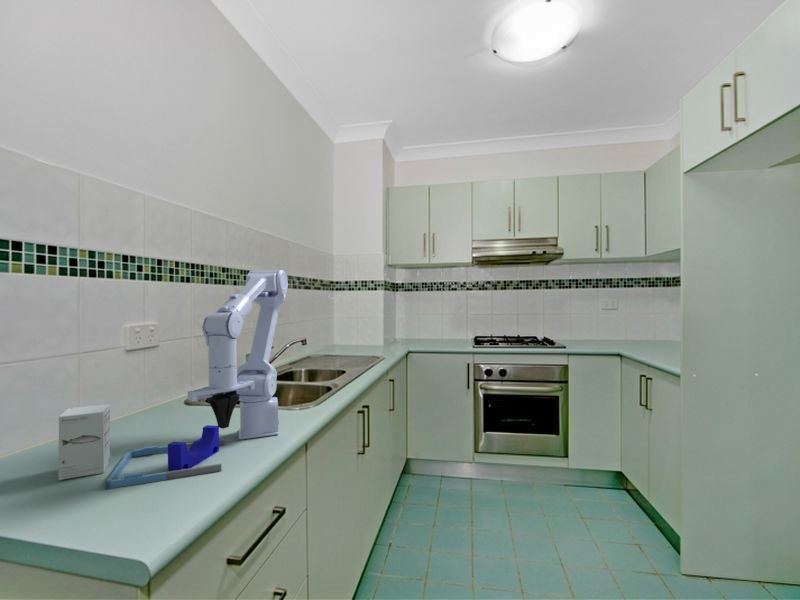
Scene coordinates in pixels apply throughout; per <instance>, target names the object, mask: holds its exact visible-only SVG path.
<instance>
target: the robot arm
mask: <svg viewBox="0 0 800 600" xmlns="http://www.w3.org/2000/svg"><path fill="white" fill-rule="evenodd" d="M288 287H289V282H288V275H287V274H286V272H285V270H283V269H279V270H273V269H271V270H255V269H252V270H249V272H248V273H247V274H246V277H245V285H244V286H243V287H242V289H241V290H240V291H239V293H232V294H230V295H229V297H228V299H227V300H226V301H225V302H224V303H223V304H222V305H221V306H220V308H219V309H218V310H217V311H216V312H210V313H209V314H208V315H206V316H205V317H204V320H203V322H202V326H201V330H202V333H203V335H204V337H205V344H206V347H208V386H204V387H201V388H197V389H193V390H189V391H187V401H188V402H192V403H194V402H197V401H199V400H204V399H206V401H207V403H208V404H209V405H210V407H211V409H212V411H213V413H214V416H215V419H216V423H217V426H218V427H219V429H227V428H230V427H229V426H230V423H231V419H232V415H233V412H234V409H235V407H236V405H237V403H238V401H239V417H240V418H239V428H238V440H246V439H254V438H255V439H256V438H260V437H261V438H262V437H269V436H276V435H279V425H280V419H279V401H278V397H276V396H274V395H275V393H276V391H277V385H278V382H277V376H278V371H277V370H276V368H275V367H274V366H273V365H272V364H271V363H269V362H270V356H271V352H272V347H273V341H274V337H275V332H276V327H277V322H278V317H279V311H280V308H281V307H280V305H282V304H284V302H286V298H287V292H288ZM252 302H254V303H255V304H258V305H259V307H260V308H259V312H258V313H259V314H258V317H257V321H256V327H255V331H254V335H253V340H252V345H251V349H250V353H249V358H248V360H247V361H245V362H244V363H242V364H241V365H239V366H238V362H237V361H238V357H237V355H238V354H237V353H238V352H237V349H238V346H237V344H238V343H237V342H238V341H237V338H238V337H239V336H240V335H241V333H242V330H243V326H244V321H245V319H246V317H247V316H248V314H249V313H250V312H251V311H252V309H253V303H252ZM237 367H238V368H237Z"/></svg>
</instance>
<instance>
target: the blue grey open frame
mask: <svg viewBox="0 0 800 600" xmlns="http://www.w3.org/2000/svg"><path fill="white" fill-rule="evenodd" d="M192 444H193V442H186V446H187V450H189V449H190V447H191V446H192ZM222 445H223V446H224V445H225V438H219V446H222ZM162 453H163V454H164V453H168V445H163V446H159V445H151V446H150V445H149V446H143V447H142V448H141V449H132V450H128V451H127V452H126V453H125V455H124V456H123V458H122V459H121V460H120V461H119V462H118V464H117V466H116V467H115V468H114V469H113V471H112V473H111V474H110V475H109V476H108V478H107V479H106V480H105V482H104V489H105V490H107V489H108V490H110V489H114V488H120V487H121V488H122V487H127V486H133V485H134V486H135V485H140V484H146V483H151V482H153V483H154V482H159V481H165V480H172V479H177V478H178V479H179V478H185V477H191V476H196V475H197V476H198V475H204V474H209V473H210V474H211V473H216V472H222V463H217V464H216V463H215V464H210V465H203V466H196V467H195V466H194V467H192V468H188V469H182V470H175V471H168V470H167V471H162V472H157V473H150V474H144V471H138V472H137V471H136V472H130V473H125V474H124V475H123V478H122V477H121V478H119V476H120V475H121V474H122V472H123V471H124V469H125V467H127V465H128V463H129V462H130V460H131V459H132V458H133V457H141V456H148V455H156V454H162Z"/></svg>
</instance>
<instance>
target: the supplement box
mask: <svg viewBox="0 0 800 600" xmlns="http://www.w3.org/2000/svg"><path fill="white" fill-rule="evenodd" d="M110 449H111V404H110V403H108V404H98V405H87V406H86V405H85V406H77V407H68V408H66V409H65V410H64V411H63V412H62V413H61V414H60V415H59V416H58V481H63V480H67V479H74V478H79V477H86V476H92V475H99V474H101V475H102V474H104V473H105V470H106V469H107V468H108V465H109V463H110V459H111V450H110Z"/></svg>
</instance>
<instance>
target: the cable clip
mask: <svg viewBox="0 0 800 600" xmlns="http://www.w3.org/2000/svg"><path fill="white" fill-rule="evenodd" d="M219 439H220V428H219V427H218V425H205V426H203V427H202V433H201V437H200V438H199V439H196V440H194V441H192V443H193V444H192V446H191V447H190V449H187V446H186V443H187V442H184V441H171V442H170V443H168V444H167V446H168V452H167V472H168V471H175V470H182V469H188V468H195V466H197V465H198V464H200V463H202V462H203V461H205V460H206V459H208V458H210V457H212V456H213V455H216V454H217V453H219V452H220V445H219Z"/></svg>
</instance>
